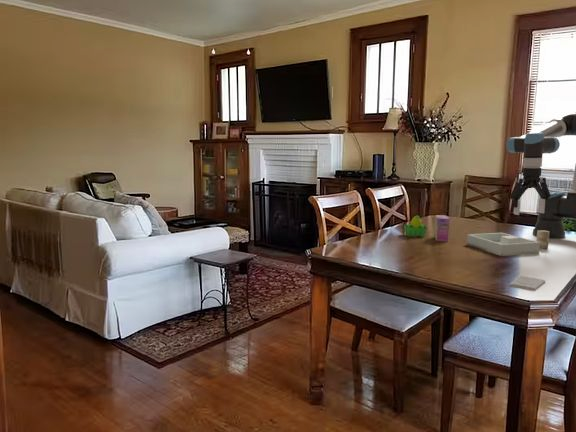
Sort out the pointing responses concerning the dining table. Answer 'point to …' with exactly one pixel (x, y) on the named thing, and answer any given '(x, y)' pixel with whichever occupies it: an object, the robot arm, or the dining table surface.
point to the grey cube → (509, 240)
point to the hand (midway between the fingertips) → (528, 213)
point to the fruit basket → (415, 228)
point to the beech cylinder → (543, 238)
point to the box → (441, 228)
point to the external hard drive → (527, 283)
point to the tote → (493, 245)
